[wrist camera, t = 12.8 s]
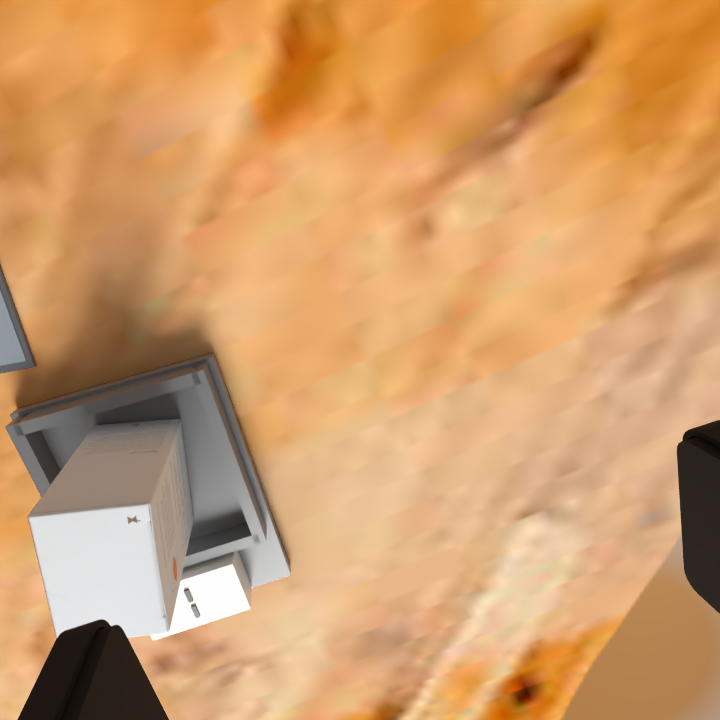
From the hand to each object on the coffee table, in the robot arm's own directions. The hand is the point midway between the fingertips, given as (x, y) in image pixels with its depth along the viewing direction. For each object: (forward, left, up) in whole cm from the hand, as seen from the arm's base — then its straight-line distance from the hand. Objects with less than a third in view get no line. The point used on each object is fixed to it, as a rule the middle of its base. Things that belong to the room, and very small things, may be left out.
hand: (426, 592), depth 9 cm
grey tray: (+11, -13, -28) cm, 33 cm away
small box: (+9, -14, -28) cm, 32 cm away
